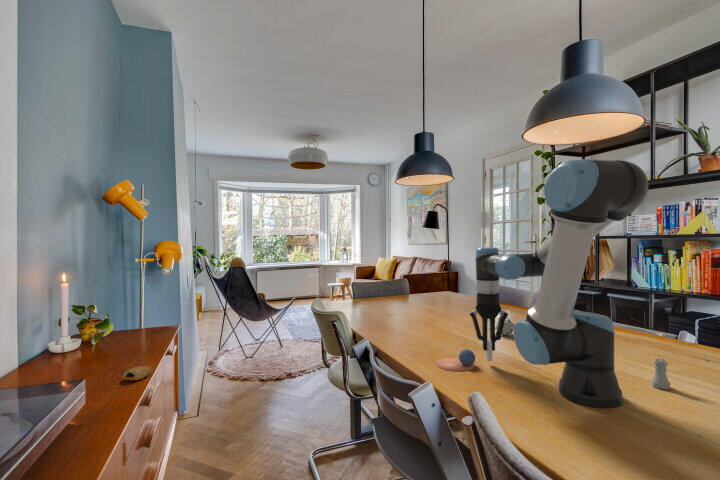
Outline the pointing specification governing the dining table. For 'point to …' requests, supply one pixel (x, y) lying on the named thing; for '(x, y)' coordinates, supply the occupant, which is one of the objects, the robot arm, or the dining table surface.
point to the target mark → (453, 364)
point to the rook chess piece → (660, 375)
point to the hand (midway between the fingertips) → (489, 359)
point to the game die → (507, 327)
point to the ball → (467, 357)
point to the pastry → (138, 372)
